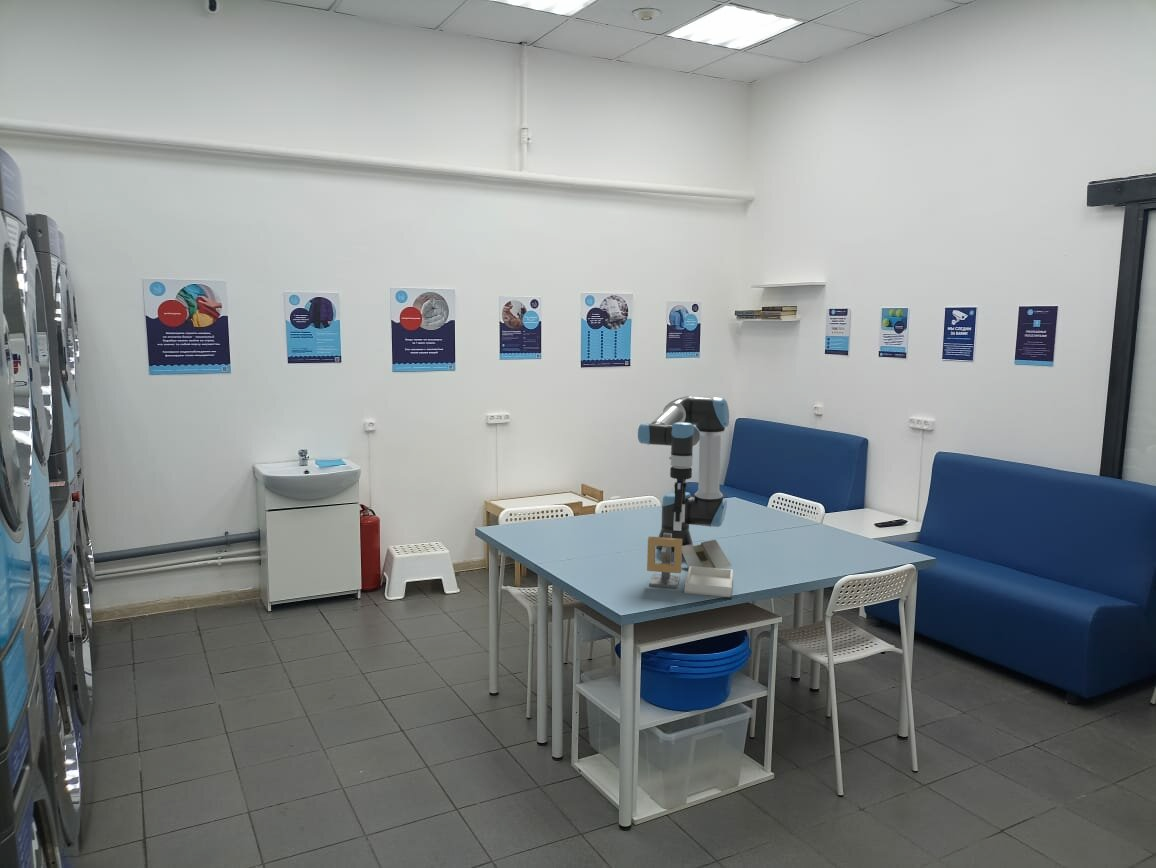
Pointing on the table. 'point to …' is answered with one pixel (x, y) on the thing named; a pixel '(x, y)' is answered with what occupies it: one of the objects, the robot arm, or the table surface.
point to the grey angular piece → (705, 555)
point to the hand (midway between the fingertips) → (679, 526)
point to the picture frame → (663, 566)
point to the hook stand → (665, 577)
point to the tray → (709, 581)
